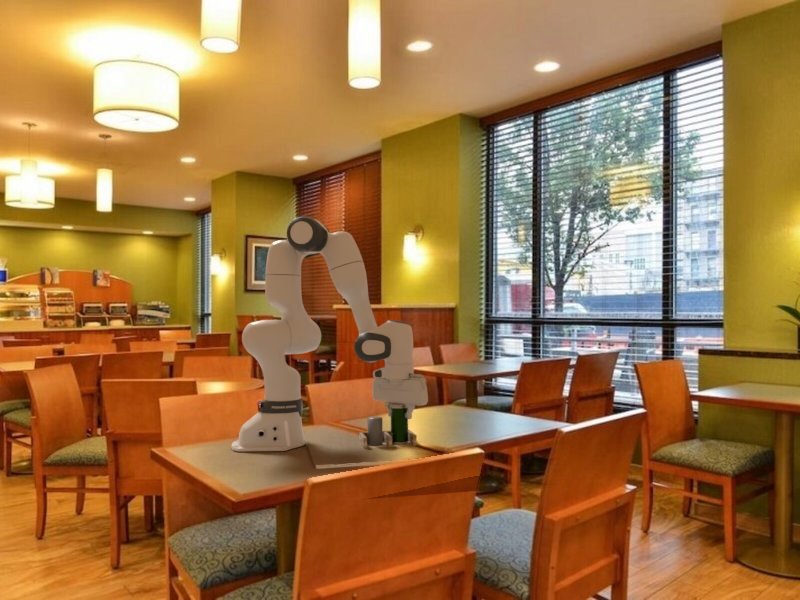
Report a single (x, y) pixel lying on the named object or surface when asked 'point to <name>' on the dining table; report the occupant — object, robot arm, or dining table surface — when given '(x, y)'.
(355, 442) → the dining table surface
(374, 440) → the grey upright block
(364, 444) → the comb rack
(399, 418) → the beer can
